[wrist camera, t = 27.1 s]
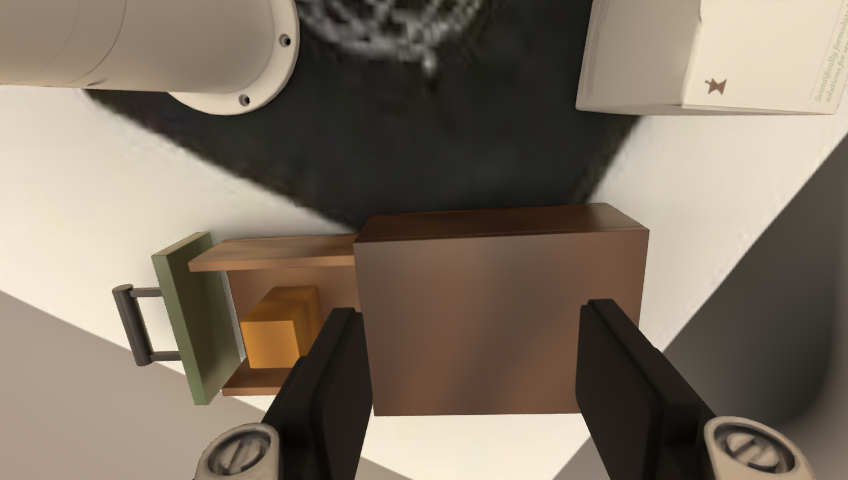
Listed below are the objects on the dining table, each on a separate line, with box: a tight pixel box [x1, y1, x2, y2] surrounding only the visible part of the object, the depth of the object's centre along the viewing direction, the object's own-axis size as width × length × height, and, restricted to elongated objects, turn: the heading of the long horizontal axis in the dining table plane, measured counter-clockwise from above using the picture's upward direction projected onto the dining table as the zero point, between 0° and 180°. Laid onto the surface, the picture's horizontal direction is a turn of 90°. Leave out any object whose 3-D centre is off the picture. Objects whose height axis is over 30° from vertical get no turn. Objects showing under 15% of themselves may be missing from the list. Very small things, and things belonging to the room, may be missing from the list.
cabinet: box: [353, 203, 650, 416], centre depth 33 cm, size 20×15×8 cm
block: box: [240, 286, 324, 368], centre depth 33 cm, size 4×4×6 cm
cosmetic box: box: [576, 0, 848, 115], centre depth 23 cm, size 8×7×16 cm
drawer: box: [112, 232, 361, 405], centre depth 34 cm, size 24×13×6 cm, turn 94°
